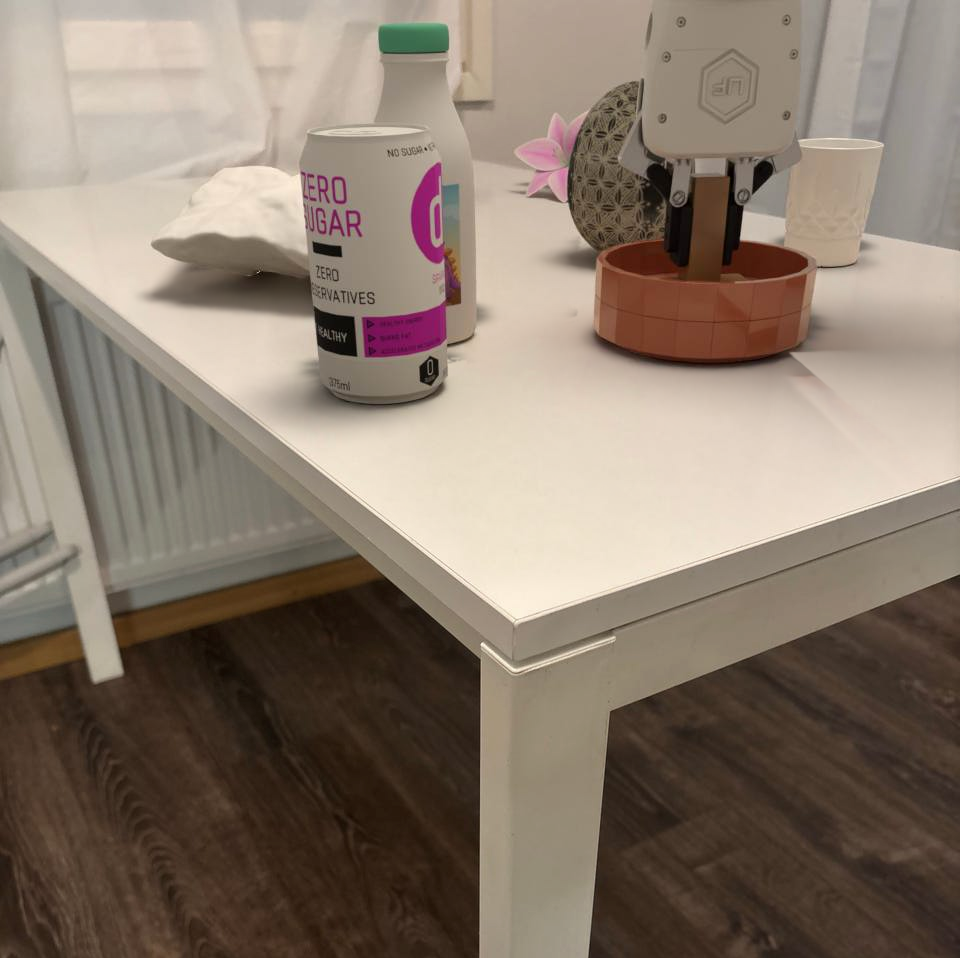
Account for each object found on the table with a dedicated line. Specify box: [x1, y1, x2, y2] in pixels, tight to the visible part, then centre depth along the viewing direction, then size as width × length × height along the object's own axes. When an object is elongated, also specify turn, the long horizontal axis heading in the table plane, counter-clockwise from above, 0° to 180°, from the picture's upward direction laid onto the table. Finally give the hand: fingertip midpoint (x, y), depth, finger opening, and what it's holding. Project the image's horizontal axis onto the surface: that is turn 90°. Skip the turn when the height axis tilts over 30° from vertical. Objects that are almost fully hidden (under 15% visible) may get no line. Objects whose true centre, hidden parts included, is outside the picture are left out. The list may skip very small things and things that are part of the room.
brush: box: [649, 172, 750, 282], centre depth 73 cm, size 7×4×10 cm, turn 94°
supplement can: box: [298, 122, 449, 405], centre depth 62 cm, size 8×8×15 cm
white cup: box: [783, 137, 885, 268], centre depth 93 cm, size 8×8×10 cm
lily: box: [513, 108, 592, 204], centre depth 128 cm, size 12×12×10 cm
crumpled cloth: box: [150, 165, 311, 280], centre depth 91 cm, size 24×35×9 cm
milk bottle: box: [373, 22, 477, 345], centre depth 71 cm, size 8×8×20 cm
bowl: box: [593, 238, 818, 364], centre depth 73 cm, size 15×15×6 cm
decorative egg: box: [567, 80, 696, 254], centre depth 94 cm, size 12×12×15 cm
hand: (699, 260), depth 74 cm, fingers closed on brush, 2 cm apart
